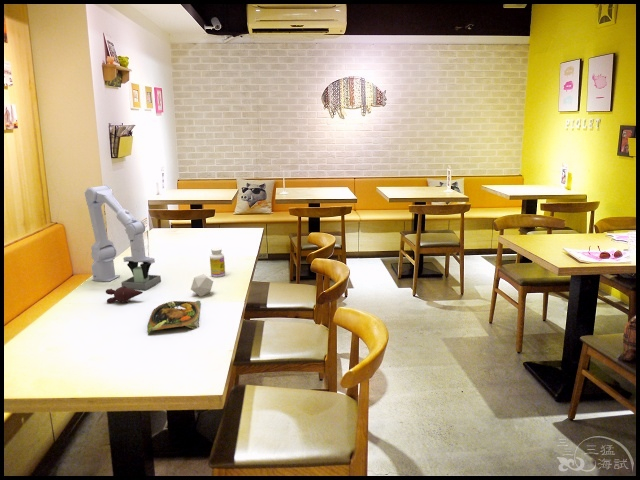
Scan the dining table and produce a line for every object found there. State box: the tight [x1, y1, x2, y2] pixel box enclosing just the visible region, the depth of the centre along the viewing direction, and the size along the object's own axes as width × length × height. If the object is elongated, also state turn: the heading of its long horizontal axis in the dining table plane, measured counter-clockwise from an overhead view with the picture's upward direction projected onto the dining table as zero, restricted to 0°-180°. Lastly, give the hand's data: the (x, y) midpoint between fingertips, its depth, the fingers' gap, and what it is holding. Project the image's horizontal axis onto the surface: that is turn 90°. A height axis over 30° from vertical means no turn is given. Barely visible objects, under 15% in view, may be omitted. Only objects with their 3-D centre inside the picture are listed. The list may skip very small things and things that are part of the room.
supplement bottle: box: [209, 247, 226, 278], centre depth 232 cm, size 7×7×13 cm
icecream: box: [105, 286, 143, 304], centre depth 202 cm, size 7×7×15 cm
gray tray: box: [120, 274, 162, 292], centre depth 222 cm, size 12×12×3 cm
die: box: [190, 273, 214, 297], centre depth 208 cm, size 8×9×10 cm
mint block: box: [132, 265, 150, 283], centre depth 221 cm, size 4×4×6 cm
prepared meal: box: [146, 300, 201, 335], centre depth 185 cm, size 28×4×18 cm
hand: (141, 277), depth 221 cm, fingers closed on mint block, 4 cm apart
